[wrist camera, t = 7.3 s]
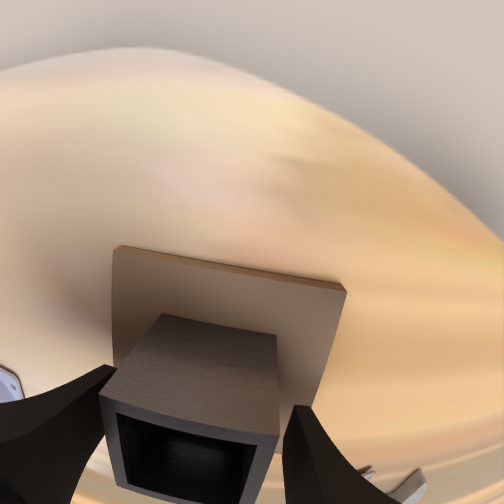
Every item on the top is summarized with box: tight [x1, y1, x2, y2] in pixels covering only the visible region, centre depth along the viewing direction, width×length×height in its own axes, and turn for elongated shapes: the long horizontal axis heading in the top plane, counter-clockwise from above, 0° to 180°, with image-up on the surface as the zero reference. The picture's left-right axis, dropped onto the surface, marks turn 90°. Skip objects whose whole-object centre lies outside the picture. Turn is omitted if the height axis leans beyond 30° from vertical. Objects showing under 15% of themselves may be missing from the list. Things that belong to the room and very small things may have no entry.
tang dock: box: [112, 246, 347, 454], centre depth 13 cm, size 10×10×4 cm
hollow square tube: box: [99, 313, 280, 504], centre depth 11 cm, size 5×5×6 cm
